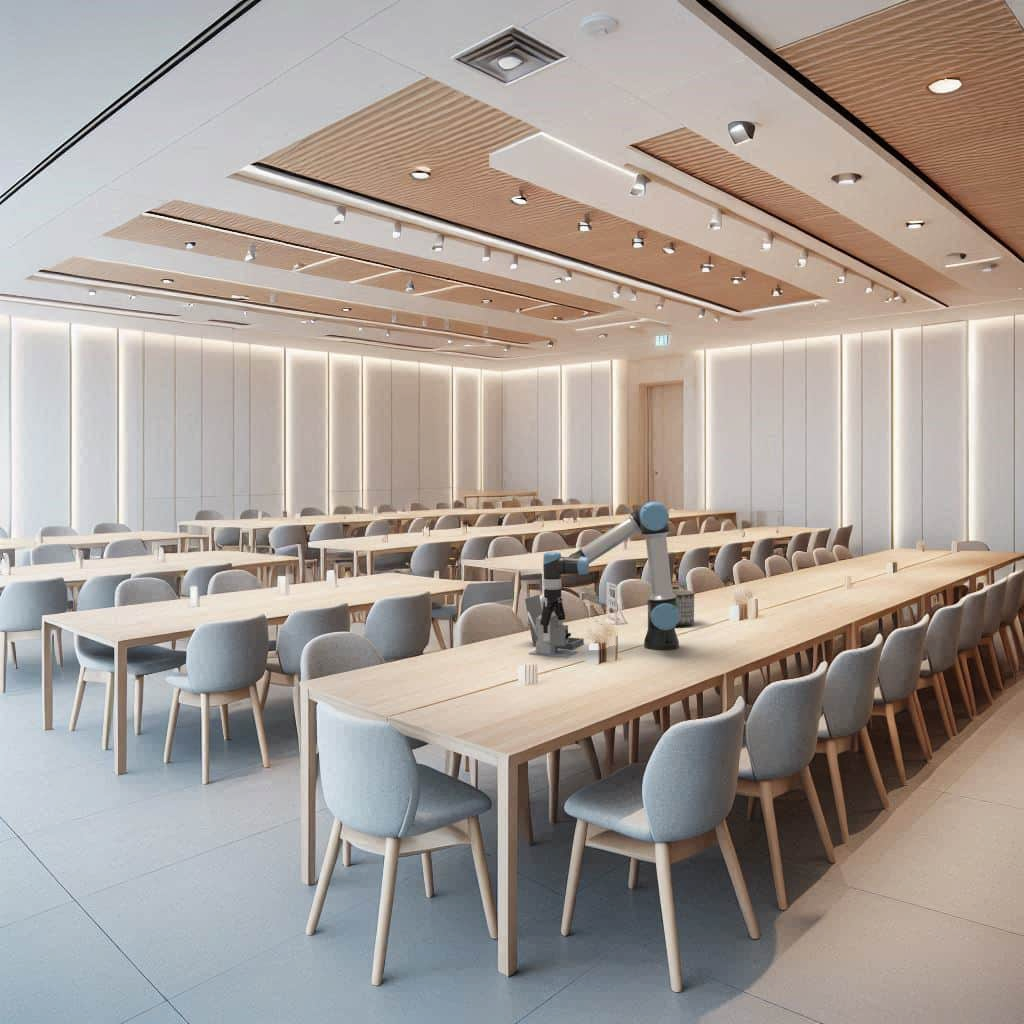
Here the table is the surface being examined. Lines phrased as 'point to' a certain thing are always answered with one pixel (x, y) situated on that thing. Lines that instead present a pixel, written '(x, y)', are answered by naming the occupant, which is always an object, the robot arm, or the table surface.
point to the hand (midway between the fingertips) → (553, 637)
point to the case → (536, 610)
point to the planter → (685, 606)
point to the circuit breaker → (551, 636)
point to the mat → (557, 653)
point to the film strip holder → (609, 605)
